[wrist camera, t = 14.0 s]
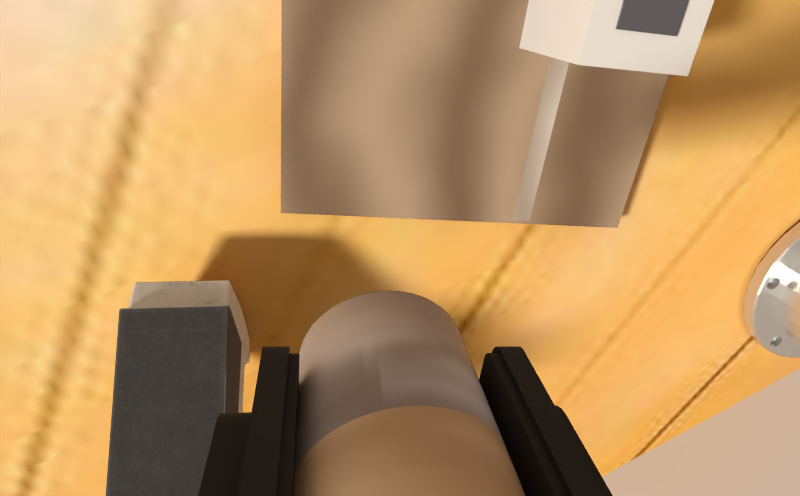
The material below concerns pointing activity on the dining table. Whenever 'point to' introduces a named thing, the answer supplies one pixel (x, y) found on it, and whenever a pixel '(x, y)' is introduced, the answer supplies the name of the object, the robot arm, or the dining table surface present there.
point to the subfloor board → (452, 117)
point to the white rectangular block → (618, 32)
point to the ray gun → (173, 384)
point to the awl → (394, 406)
